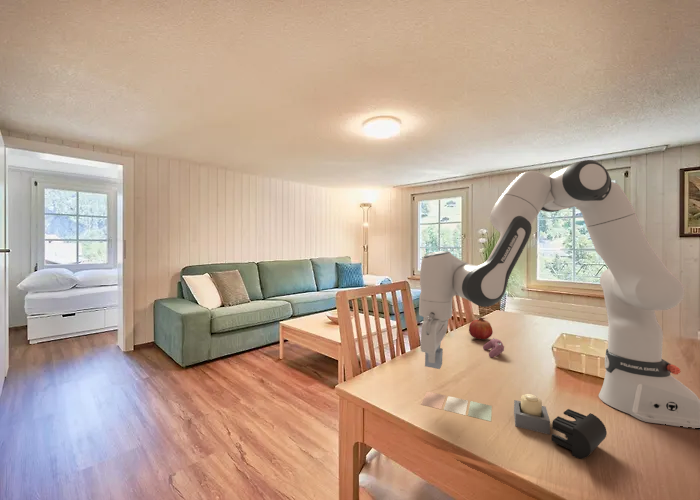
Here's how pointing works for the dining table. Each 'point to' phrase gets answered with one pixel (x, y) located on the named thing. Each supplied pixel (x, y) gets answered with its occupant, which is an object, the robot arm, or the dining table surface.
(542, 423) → the box
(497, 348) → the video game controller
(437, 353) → the pawn
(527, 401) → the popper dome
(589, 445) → the end cap
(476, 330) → the fruit
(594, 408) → the dining table surface
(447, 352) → the dining table surface
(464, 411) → the game board
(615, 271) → the robot arm
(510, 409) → the dining table surface
